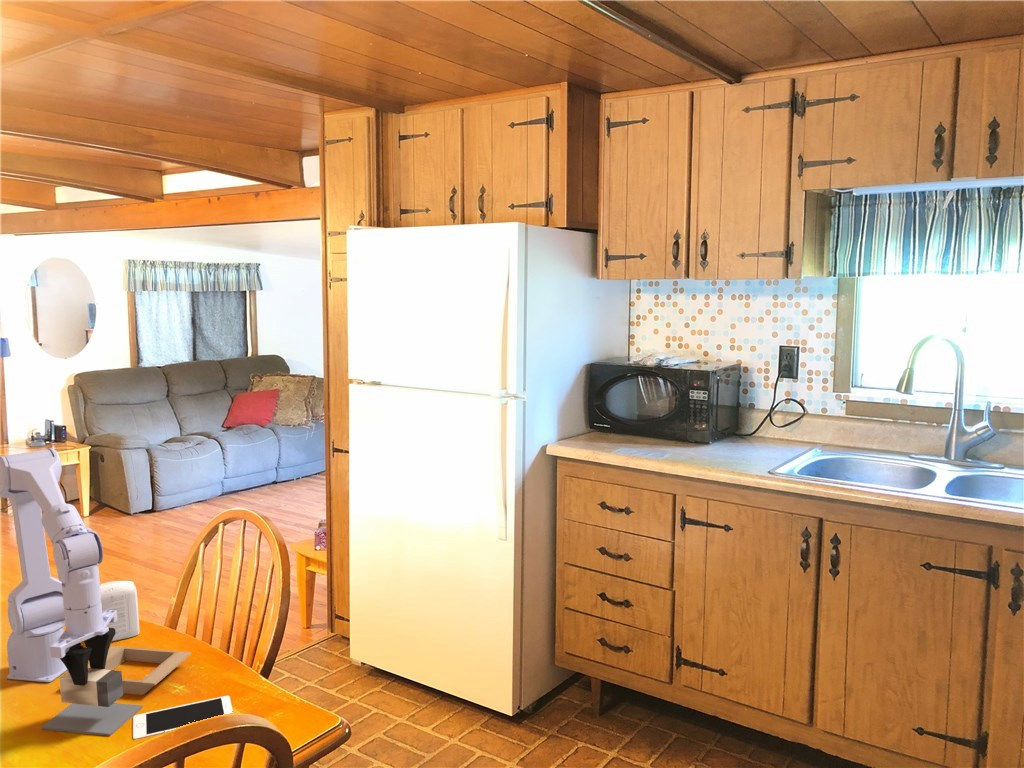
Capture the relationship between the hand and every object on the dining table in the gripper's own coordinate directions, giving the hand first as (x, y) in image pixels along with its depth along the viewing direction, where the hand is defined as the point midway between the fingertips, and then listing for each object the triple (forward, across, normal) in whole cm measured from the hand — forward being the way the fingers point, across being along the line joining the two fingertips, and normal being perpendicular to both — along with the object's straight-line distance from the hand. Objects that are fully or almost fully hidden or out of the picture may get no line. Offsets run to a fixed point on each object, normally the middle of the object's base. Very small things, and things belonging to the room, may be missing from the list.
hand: (89, 677), depth 142 cm
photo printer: (+8, +28, +16) cm, 34 cm away
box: (+4, 0, 0) cm, 4 cm away
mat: (+8, 0, 0) cm, 8 cm away
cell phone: (+8, +3, -16) cm, 18 cm away
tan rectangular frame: (+8, +14, +2) cm, 16 cm away
